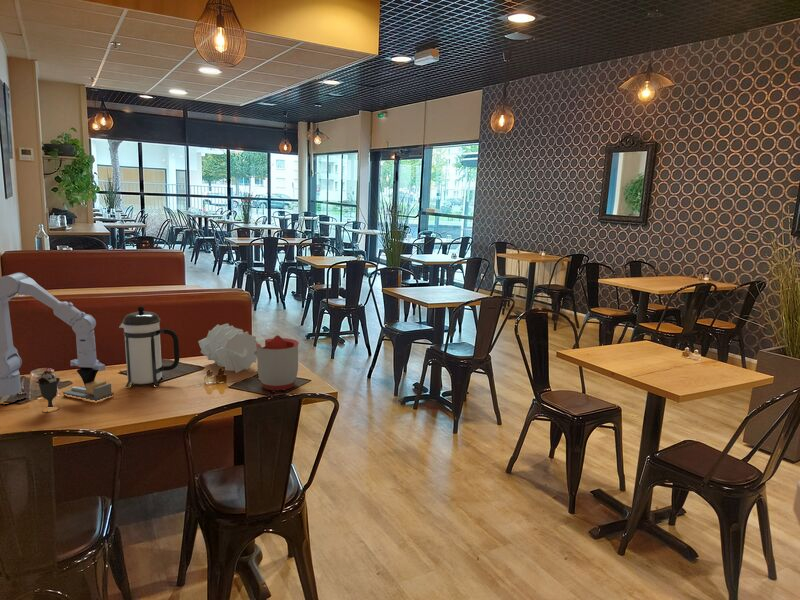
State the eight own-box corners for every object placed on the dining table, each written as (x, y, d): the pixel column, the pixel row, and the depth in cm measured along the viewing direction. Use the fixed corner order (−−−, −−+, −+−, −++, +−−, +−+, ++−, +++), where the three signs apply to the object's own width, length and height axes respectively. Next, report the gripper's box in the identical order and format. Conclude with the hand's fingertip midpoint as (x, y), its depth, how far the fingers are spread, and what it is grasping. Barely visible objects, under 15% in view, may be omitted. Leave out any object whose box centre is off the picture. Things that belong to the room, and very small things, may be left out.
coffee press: (137, 393, 202) (132, 312, 196) (116, 384, 211) (110, 306, 206) (181, 382, 215) (178, 305, 210) (159, 373, 225) (155, 300, 219)
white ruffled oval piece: (227, 367, 248) (254, 379, 229) (190, 357, 236) (215, 368, 217) (242, 328, 250) (269, 336, 232) (206, 316, 239) (232, 323, 220)
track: (63, 396, 197) (62, 382, 196) (81, 390, 204) (80, 377, 203) (96, 403, 191) (95, 389, 191) (113, 396, 198) (112, 383, 197)
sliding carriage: (86, 394, 194) (85, 383, 194) (98, 390, 199) (97, 379, 198) (94, 396, 193) (93, 385, 192) (106, 392, 197) (106, 381, 197)
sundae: (57, 404, 189) (53, 361, 187) (65, 409, 185) (61, 366, 183) (35, 409, 184) (31, 366, 182) (43, 415, 180) (39, 370, 178)
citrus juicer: (267, 377, 223) (266, 328, 220) (306, 382, 218) (306, 332, 214) (244, 389, 209) (243, 337, 205) (285, 395, 203) (284, 342, 199)
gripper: (111, 350, 195) (114, 387, 198) (81, 345, 201) (84, 381, 203) (93, 355, 189) (96, 393, 191) (63, 349, 194) (66, 387, 197)
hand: (89, 387), depth 197 cm, fingers closed
